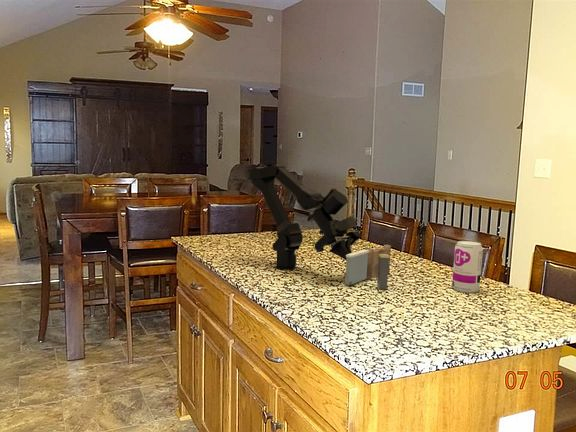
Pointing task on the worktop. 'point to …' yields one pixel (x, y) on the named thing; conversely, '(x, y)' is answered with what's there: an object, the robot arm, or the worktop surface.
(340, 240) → the robot arm
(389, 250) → the fence
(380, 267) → the stile
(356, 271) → the cream flat slab
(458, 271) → the supplement can
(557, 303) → the worktop surface
